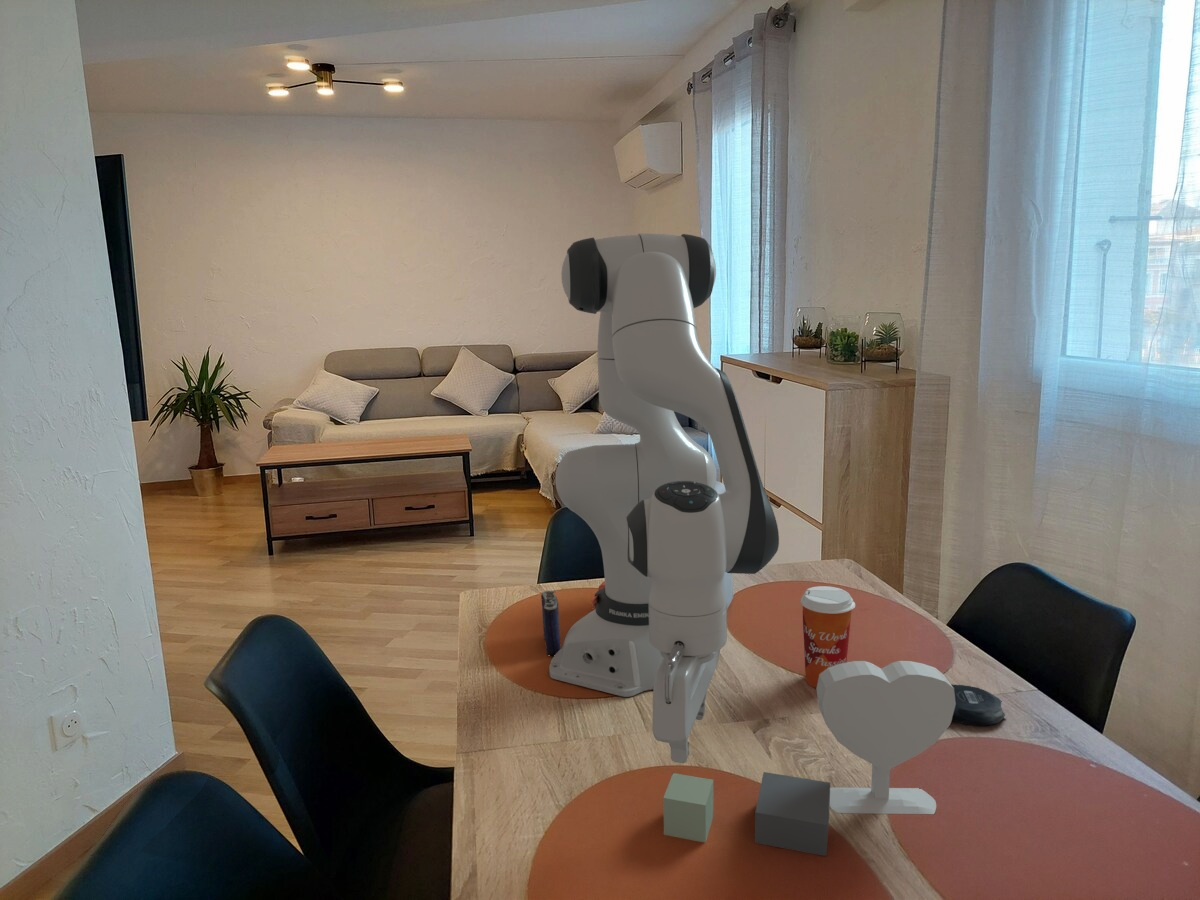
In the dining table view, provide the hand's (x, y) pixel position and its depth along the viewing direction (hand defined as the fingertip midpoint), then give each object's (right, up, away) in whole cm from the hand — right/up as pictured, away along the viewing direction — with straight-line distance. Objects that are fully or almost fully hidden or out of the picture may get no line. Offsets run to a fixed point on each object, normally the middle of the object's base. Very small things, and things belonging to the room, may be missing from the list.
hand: (688, 737), depth 92 cm
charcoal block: (+13, -11, +2) cm, 17 cm away
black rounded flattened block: (+42, -6, +26) cm, 50 cm away
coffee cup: (+26, -4, +36) cm, 44 cm away
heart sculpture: (+25, -10, +6) cm, 27 cm away
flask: (-19, -2, +52) cm, 55 cm away
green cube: (0, -12, +3) cm, 12 cm away
